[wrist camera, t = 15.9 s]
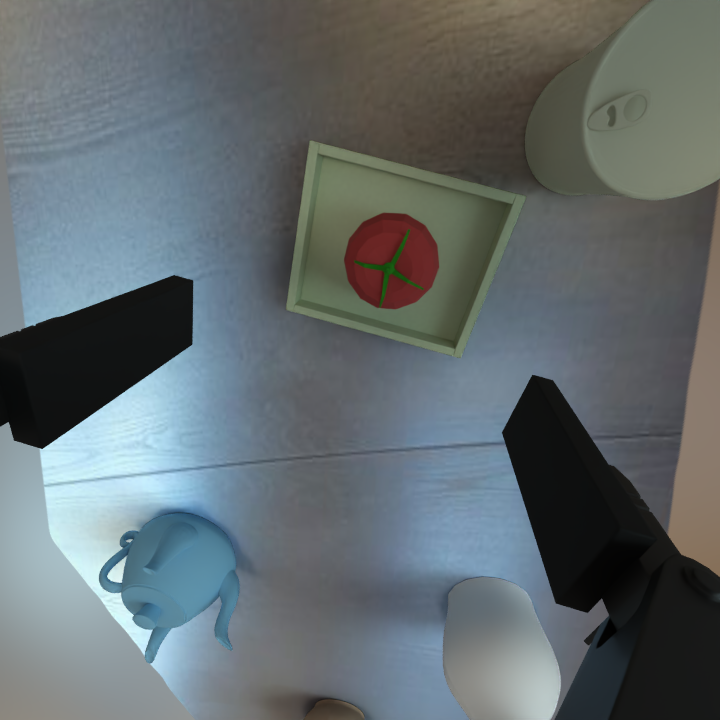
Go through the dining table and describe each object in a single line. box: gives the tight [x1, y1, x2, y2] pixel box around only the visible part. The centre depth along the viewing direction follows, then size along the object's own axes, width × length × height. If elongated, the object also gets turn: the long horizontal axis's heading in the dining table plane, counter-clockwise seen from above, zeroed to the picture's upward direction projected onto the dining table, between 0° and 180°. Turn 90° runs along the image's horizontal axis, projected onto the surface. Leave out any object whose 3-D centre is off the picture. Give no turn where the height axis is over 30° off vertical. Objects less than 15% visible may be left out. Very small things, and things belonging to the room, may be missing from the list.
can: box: [525, 0, 720, 200], centre depth 22 cm, size 9×9×12 cm
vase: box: [443, 577, 561, 720], centre depth 45 cm, size 14×14×20 cm
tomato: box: [344, 212, 439, 310], centre depth 30 cm, size 8×8×8 cm
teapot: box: [99, 513, 240, 663], centre depth 53 cm, size 17×19×12 cm
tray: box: [286, 140, 526, 358], centre depth 33 cm, size 18×15×3 cm
